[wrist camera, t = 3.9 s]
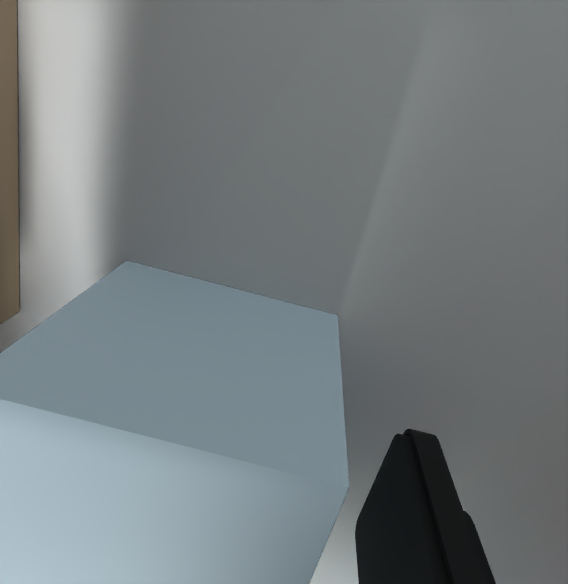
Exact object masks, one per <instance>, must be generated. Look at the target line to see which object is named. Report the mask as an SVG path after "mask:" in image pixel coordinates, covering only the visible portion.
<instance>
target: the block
mask: <svg viewBox="0 0 568 584" xmlns="http://www.w3.org/2000/svg"><path fill="white" fill-rule="evenodd" d="M348 490H349V476H348V461H347V446H346V431H345V417H344V402H343V387H342V372H341V357H340V343H339V328H338V315H334V314H331V313H327V312H323V311H319V310H315V309H311V308H308V307H304V306H300V305H296V304H292V303H288V302H285V301H281V300H277V299H273V298H269V297H265V296H261V295H258V294H254V293H250V292H246V291H242V290H238V289H235V288H231V287H227V286H223V285H219V284H215V283H211V282H208V281H204V280H200V279H196V278H192V277H188V276H185V275H181V274H177V273H173V272H169V271H165V270H161V269H158V268H154V267H150V266H146V265H142V264H138V263H135V262H131V261H125V262H124V263H123V264H121V265H120V266H118V267H117V268H116V269H114V270H113V271H112V272H110V273H109V274H108V275H106V276H105V277H103V278H102V279H101V280H99V281H98V282H97V283H95V284H94V285H92V286H91V287H90V288H88V289H87V290H86V291H84V292H83V293H82V294H80V295H79V296H77V297H76V298H75V299H73V300H72V301H71V302H69V303H68V304H67V305H65V306H64V307H62V308H61V309H60V310H58V311H57V312H56V313H54V314H53V315H52V316H50V317H49V318H47V319H46V320H45V321H43V322H42V323H41V324H39V325H38V326H36V327H35V328H34V329H32V330H31V331H30V332H28V333H27V334H26V335H24V336H23V337H21V338H20V339H19V340H17V341H16V342H15V343H13V344H12V345H11V346H9V347H8V348H6V349H5V350H4V351H2V352H1V353H0V584H309V583H310V580H311V578H312V576H313V573H314V571H315V568H316V566H317V564H318V561H319V559H320V557H321V554H322V552H323V549H324V547H325V545H326V542H327V540H328V537H329V535H330V533H331V530H332V528H333V526H334V523H335V521H336V518H337V516H338V514H339V511H340V509H341V506H342V504H343V502H344V499H345V497H346V494H347V492H348Z"/></svg>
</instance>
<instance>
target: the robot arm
mask: <svg viewBox="0 0 568 584" xmlns="http://www.w3.org/2000/svg"><path fill="white" fill-rule="evenodd" d="M355 539H356V552H357V565H358V578H359V584H496V583H495V580H494V577H493V575H492V572H491V569H490V566H489V564H488V561H487V558H486V555H485V553H484V550H483V547H482V544H481V542H480V539H479V536H478V533H477V531H476V528H475V525H474V523H473V521H472V519H471V517H470V516H469V514H468V513H467V512H466V511H463V509H462V506H461V503H460V500H459V498H458V495H457V492H456V489H455V486H454V483H453V480H452V477H451V475H450V472H449V469H448V466H447V463H446V460H445V457H444V455H443V452H442V449H441V446H440V443H439V440H438V438H437V437H436V436H435V435H433V434H429V433H424V432H420V431H416V430H412V429H407V430H406V431H405V432H404V433H403V435H402V434H396V435H395V436H394V438H393V440H392V443H391V445H390V447H389V449H388V452H387V454H386V456H385V458H384V461H383V463H382V465H381V467H380V470H379V472H378V474H377V476H376V479H375V481H374V483H373V485H372V488H371V490H370V492H369V494H368V497H367V499H366V501H365V503H364V506H363V508H362V510H361V512H360V515H359V517H358V520H357V524H356V531H355Z"/></svg>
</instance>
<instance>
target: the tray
mask: <svg viewBox="0 0 568 584" xmlns="http://www.w3.org/2000/svg"><path fill="white" fill-rule="evenodd" d="M18 312H20V310H19V194H18V79H17V0H0V324H1V323H3V322H4V321H6V320H7V319H9V318H11V317H12V316H14V315H15V314H17V313H18Z"/></svg>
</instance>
